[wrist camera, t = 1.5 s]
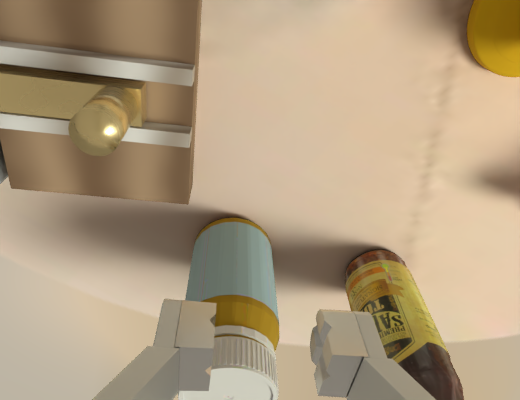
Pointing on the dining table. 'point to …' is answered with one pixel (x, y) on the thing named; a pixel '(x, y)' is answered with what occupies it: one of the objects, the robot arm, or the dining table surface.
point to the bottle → (237, 309)
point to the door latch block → (110, 66)
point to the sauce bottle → (402, 321)
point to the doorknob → (495, 35)
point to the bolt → (77, 104)
